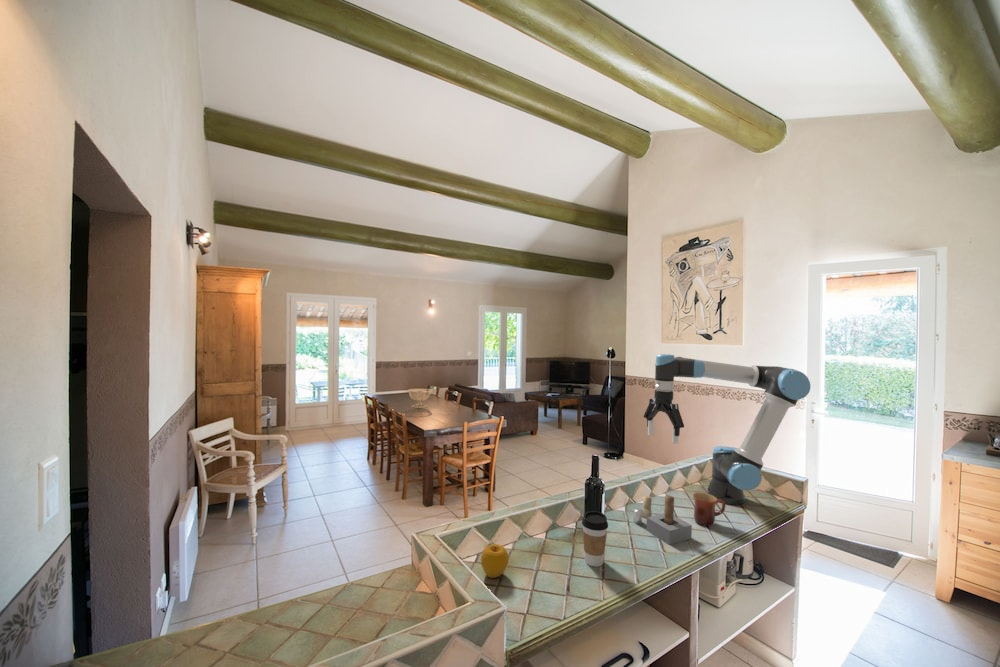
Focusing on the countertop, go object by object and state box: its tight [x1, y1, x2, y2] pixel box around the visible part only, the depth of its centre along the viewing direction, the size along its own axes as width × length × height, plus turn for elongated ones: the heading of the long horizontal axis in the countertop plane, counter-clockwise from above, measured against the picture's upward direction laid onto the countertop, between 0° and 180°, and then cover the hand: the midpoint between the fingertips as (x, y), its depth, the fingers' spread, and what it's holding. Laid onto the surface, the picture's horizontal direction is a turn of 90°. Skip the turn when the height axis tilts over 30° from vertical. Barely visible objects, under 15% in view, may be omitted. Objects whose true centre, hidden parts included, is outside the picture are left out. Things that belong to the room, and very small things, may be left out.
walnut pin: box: [664, 495, 675, 525], centre depth 155 cm, size 3×3×14 cm
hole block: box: [645, 513, 693, 545], centre depth 155 cm, size 11×11×5 cm
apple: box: [480, 543, 509, 579], centre depth 128 cm, size 8×8×9 cm
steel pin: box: [633, 507, 643, 526], centre depth 164 cm, size 3×3×5 cm
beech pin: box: [642, 495, 653, 519], centre depth 169 cm, size 3×3×8 cm
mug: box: [692, 492, 726, 527], centre depth 165 cm, size 12×9×10 cm
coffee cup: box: [581, 510, 609, 568], centre depth 136 cm, size 8×8×15 cm
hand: (662, 439), depth 180 cm, fingers open, 13 cm apart
